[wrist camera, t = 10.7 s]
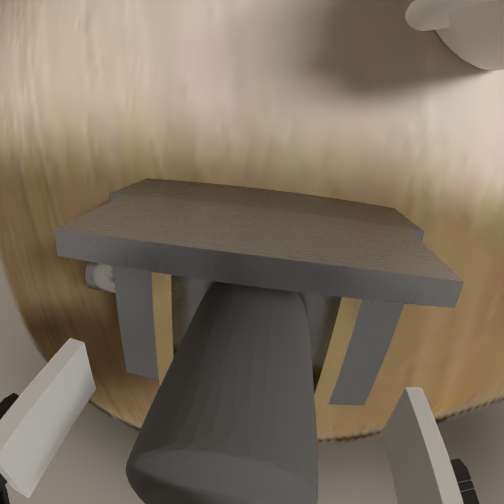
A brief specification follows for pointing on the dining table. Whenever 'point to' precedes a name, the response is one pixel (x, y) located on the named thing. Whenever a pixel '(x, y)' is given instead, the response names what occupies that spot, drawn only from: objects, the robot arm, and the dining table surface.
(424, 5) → the mug
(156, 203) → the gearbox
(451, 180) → the dining table surface
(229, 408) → the bottle
